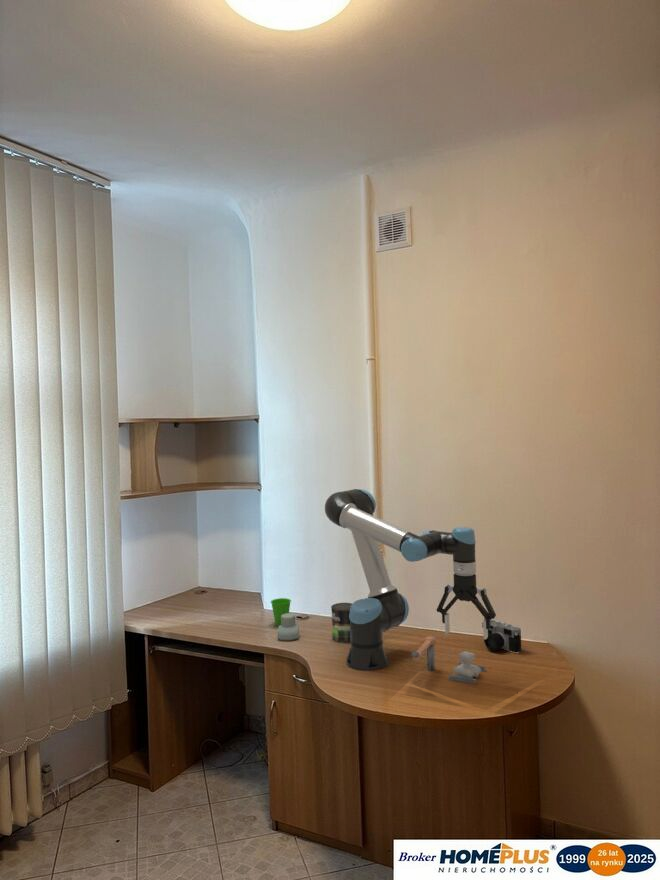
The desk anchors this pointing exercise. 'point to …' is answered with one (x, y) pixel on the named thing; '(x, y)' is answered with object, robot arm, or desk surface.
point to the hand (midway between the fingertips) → (466, 635)
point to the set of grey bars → (451, 677)
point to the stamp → (467, 666)
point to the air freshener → (288, 628)
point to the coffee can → (341, 622)
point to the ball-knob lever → (423, 647)
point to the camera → (503, 637)
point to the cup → (280, 608)
